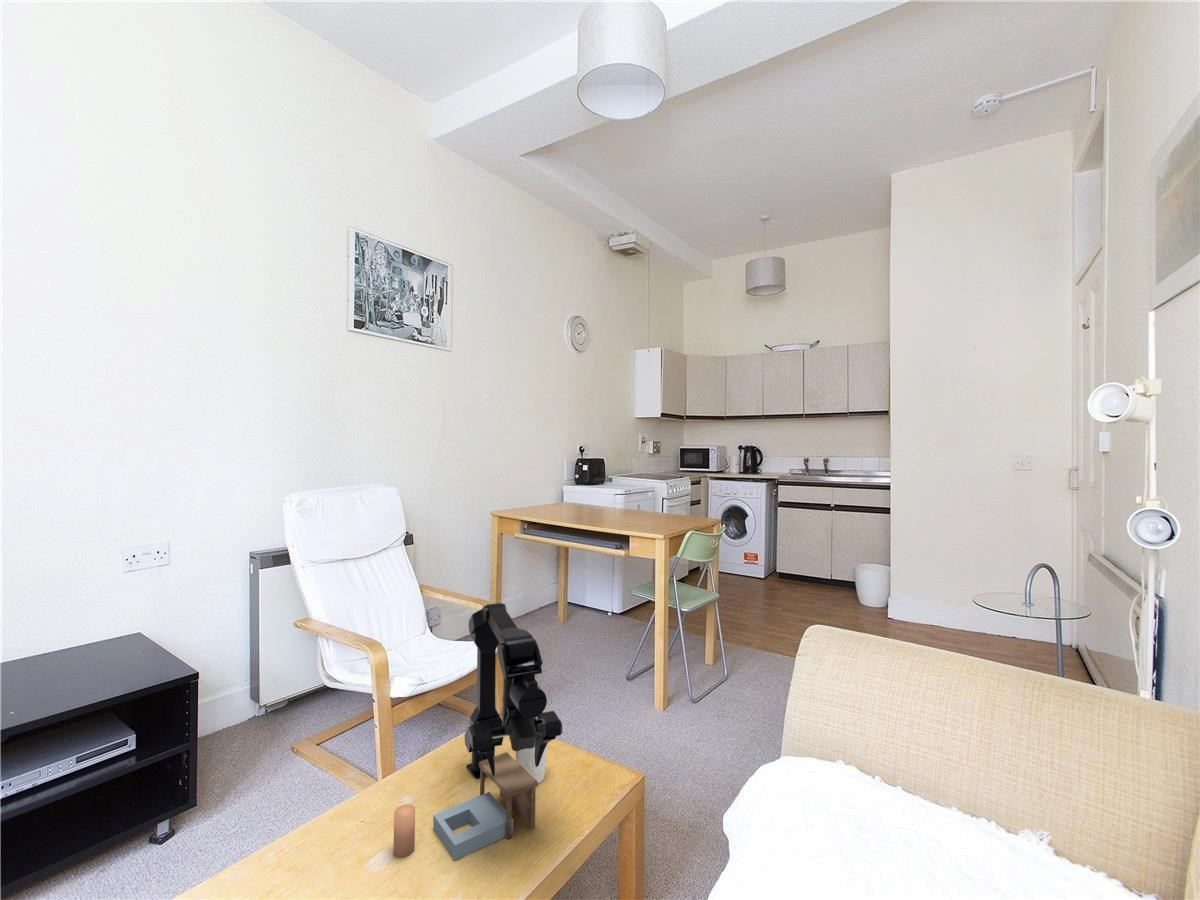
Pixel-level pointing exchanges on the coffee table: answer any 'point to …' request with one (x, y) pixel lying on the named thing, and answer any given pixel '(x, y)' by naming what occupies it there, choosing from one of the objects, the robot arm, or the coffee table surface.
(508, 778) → the brown wooden table shape
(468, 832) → the socket block
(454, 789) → the coffee table surface
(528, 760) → the white cup
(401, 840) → the peg
